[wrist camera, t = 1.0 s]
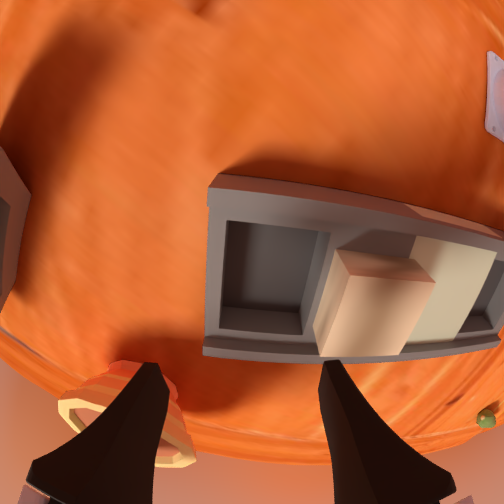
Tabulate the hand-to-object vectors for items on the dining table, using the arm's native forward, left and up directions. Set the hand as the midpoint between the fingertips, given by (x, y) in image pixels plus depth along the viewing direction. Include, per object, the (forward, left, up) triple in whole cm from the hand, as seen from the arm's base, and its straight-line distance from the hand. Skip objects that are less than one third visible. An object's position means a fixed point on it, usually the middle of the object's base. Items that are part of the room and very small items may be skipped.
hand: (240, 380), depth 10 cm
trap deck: (-14, 0, -10) cm, 17 cm away
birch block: (-8, 0, -7) cm, 11 cm away
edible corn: (-66, +39, -11) cm, 77 cm away
